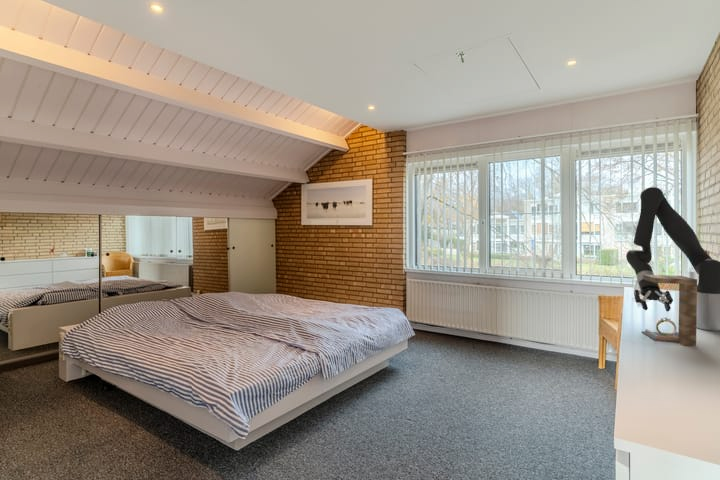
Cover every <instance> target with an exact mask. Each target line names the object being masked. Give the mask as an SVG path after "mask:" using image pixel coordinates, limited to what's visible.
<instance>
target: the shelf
mask: <svg viewBox="0 0 720 480" xmlns="http://www.w3.org/2000/svg"><path fill="white" fill-rule="evenodd" d="M643 279H644V280H647V281H651V282H654V283H658V284H676V285H677V284H678V332H679V333H678V342H677V343H679V344H681V345H682V346H688V347H697V327H696V324H697V285H698V279H696V278H693V277H687V276H684V275H667V274H666V275H665V274H663V275H662V274H654V275H643Z"/></svg>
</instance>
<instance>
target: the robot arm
mask: <svg viewBox="0 0 720 480" xmlns="http://www.w3.org/2000/svg"><path fill="white" fill-rule="evenodd" d="M639 197H640V211H639V218H638V222H637V225H636V227H635V233H634V238H633V244H634V245H636V246H637V247H638V246H639V247H641V250H640V249H629V250H628V251H627V253H626V254H625V255H626V256H625V258H626V261H627V262H628V264H629V265H630V267H631V268H632V269H633V270H634V273H635V275H636V279H637V284H638V285H639V289H640V290H638V289H635V290H634V292H633V295H634V300H635V303H639V304H641V308H642V309H643V310H644V311H647V310H648V308H649V307H648V304H647V300H648V301H658V302H659V303H661V304H662V305H663V306H664V309H665V311H666V312H669V311H671V306H670V305H672V303H673V302H674V299H673V297H672V295H671V293H670V291H669V290H666V291H662V290H661V288H660V285H659V283H654V282H651V281H647V280H644V279H643V275H655V273H654V271H653V268H652V266H651V265H650V263H651V261H652V257H653V256H652V250H651V249H652V248H651V247H652V246H651V243H652V237H653V232H654V227H655V218H656V217H657V219H658V221H659V223H660V225H661V227H662V228H663V230H664V231H665V232H666V234H667V235H668V237H669V238H670V239H671V240H672V242H673V243H674V244H675V245H676V246H677V247H678V249H679V250H680V251H681V252H682V253H683V254H684V255H685V256H686V258H687V259H688V261H689V262H690V264H691V266H692V267H693V270H694V271H695V273H696V274H698V281H697V324H696V329H701V330H705V331H714V332H717V331H718V332H719V331H720V261H719V260H717V259H714V258H712V257H711V256H710V255H709V254H708V253H707V252H706V251H705V250H704V248H703V247H702V245H701V244H700V241H699V239H698V236H697V234H696V233H695V230H694V229H693V228H692V227H691V226H690V224H689V223H688V222H687V221H686V220H685V218H683V217H682V215H680V213H678V212H677V211H676V210H675V209H674V208H673V207H672V205H671V204H670V203H669V202H668V200H667V198H666V197H665V195H664V192H663V191H662V190H661V189H660V187H657V186H648V187H646V188H644V189H643V190H642V191H641V193H640V196H639ZM640 296H642V298H640Z"/></svg>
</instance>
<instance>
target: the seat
mask: <svg viewBox="0 0 720 480" xmlns="http://www.w3.org/2000/svg"><path fill="white" fill-rule="evenodd" d="M641 333H642V334H644V335H645V336H646V337H648V338H650V339H651V340H652V341H657V342H658V341H659V342H661V341H662V342H672V343H679V342H678V333H679V331H677V330H676V332H675V333H674V334H673V335H671V336H665V335H662V334H660V333H659V332H658V331H651V330H650V329H648V328H647V329H645V331H644V330H643V331H641ZM663 333H664V334H665V333H666V334H671V333H672V332H663Z"/></svg>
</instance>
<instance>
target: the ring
mask: <svg viewBox="0 0 720 480" xmlns="http://www.w3.org/2000/svg"><path fill="white" fill-rule="evenodd" d="M664 322H667V323H669V324H671V325H672V326H673V328H674V330H673V331H672V332H670V333H671V334H666V333H667V332H662V331H661V330H660V329H659V326H660V324H662V323H664ZM655 329H656V332H659V333H660V334H662V335H665V336H671V335H673V334H674V333H675V332H676V331H677V325H676V323H675V322H674V321H672V320H671V318H670V317H669V318H668V317H662V318H660V319H659V320H658V321H657V323H656V325H655ZM664 333H665V334H664Z"/></svg>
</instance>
